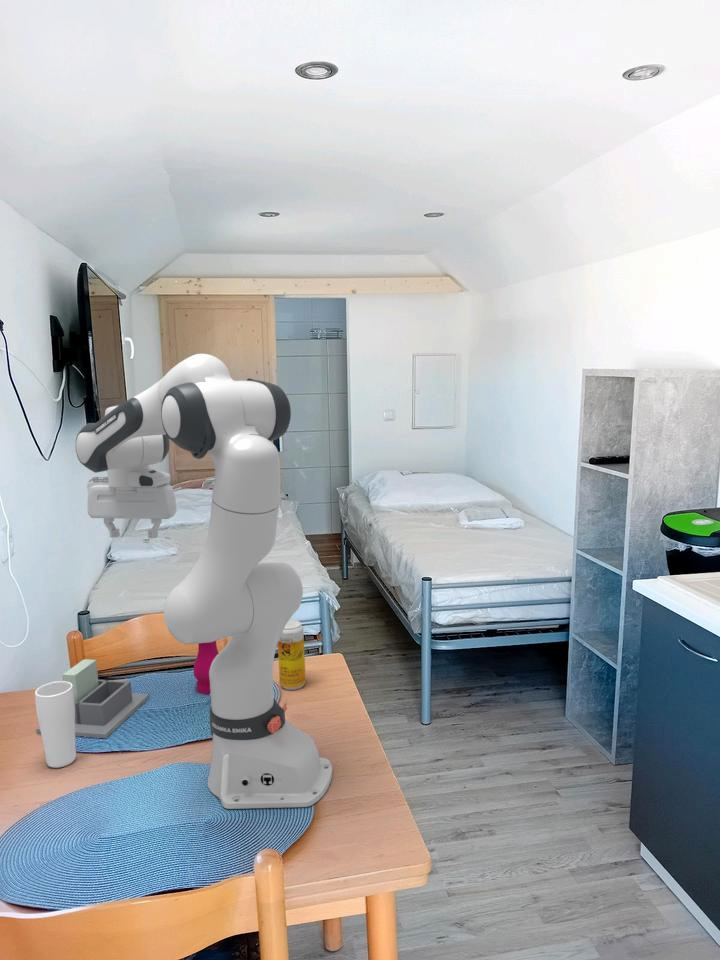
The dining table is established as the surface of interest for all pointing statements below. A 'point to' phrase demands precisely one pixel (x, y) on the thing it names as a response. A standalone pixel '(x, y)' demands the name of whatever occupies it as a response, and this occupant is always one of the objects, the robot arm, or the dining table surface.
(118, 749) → the dining table surface
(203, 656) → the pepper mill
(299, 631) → the beer can
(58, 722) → the drinking glass
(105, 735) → the dish rack
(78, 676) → the rectangular block
